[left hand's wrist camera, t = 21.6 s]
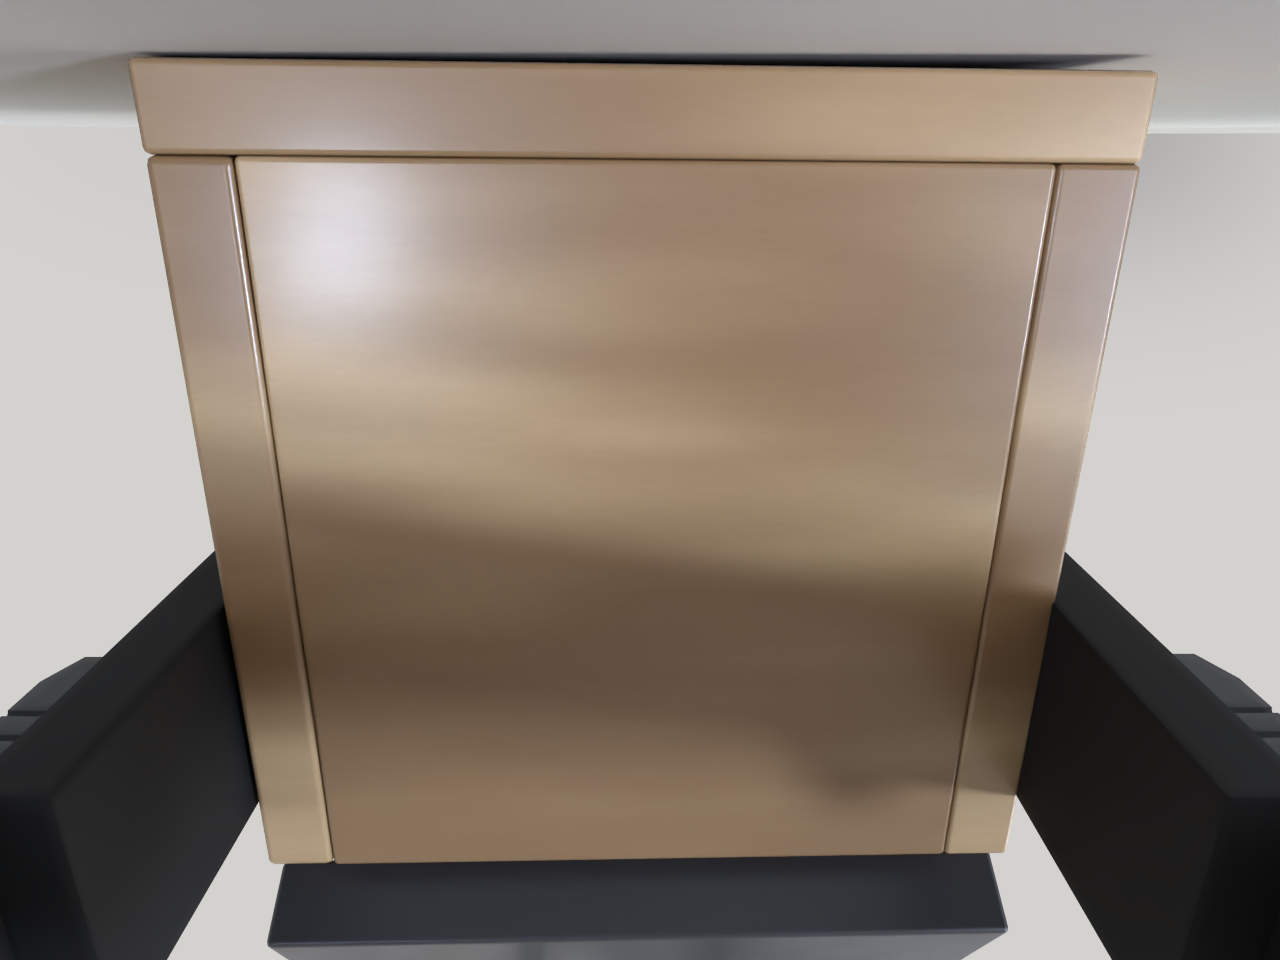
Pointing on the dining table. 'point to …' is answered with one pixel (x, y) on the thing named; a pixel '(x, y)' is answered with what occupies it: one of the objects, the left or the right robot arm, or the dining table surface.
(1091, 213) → the chest
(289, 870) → the lid
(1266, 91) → the dining table surface
